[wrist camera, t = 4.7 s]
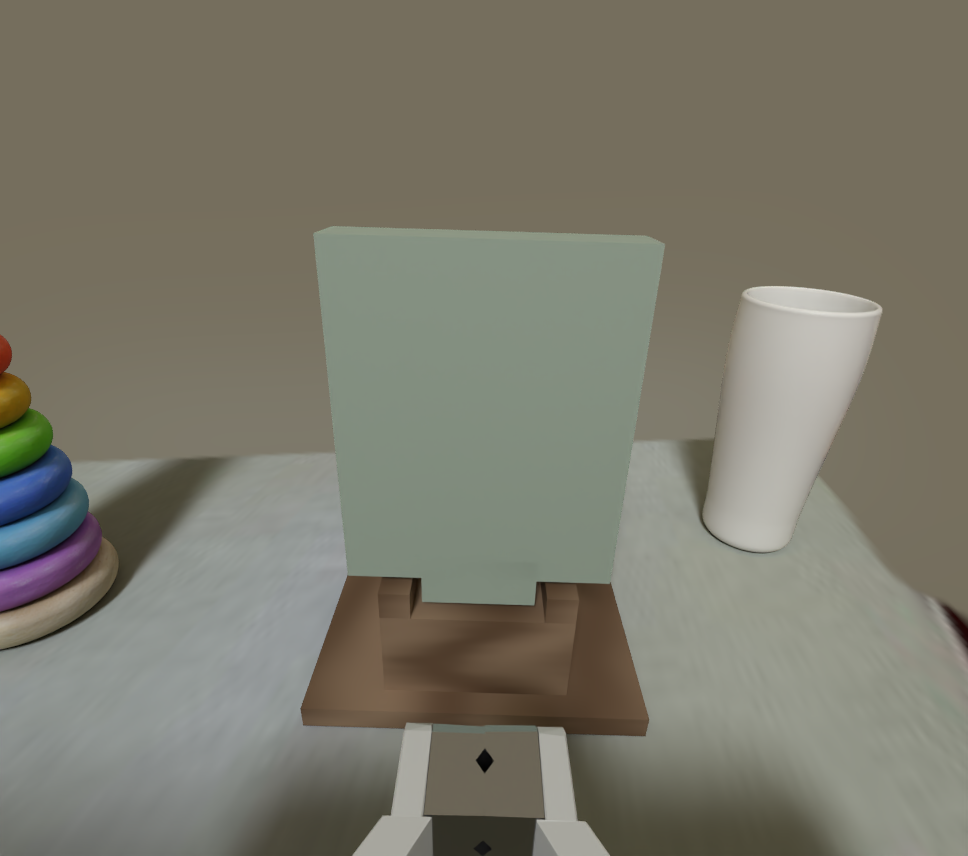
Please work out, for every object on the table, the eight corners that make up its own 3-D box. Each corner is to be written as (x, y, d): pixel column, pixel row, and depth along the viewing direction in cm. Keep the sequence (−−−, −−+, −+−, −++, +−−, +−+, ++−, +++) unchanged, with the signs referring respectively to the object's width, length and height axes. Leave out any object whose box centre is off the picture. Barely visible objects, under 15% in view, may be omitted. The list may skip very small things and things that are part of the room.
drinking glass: (678, 498, 39) (724, 282, 32) (777, 505, 38) (844, 288, 32) (704, 560, 33) (767, 310, 26) (822, 569, 32) (916, 317, 26)
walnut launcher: (303, 725, 23) (283, 610, 20) (389, 468, 41) (385, 392, 39) (645, 736, 22) (671, 622, 20) (575, 474, 41) (584, 398, 39)
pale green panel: (350, 599, 22) (313, 233, 16) (361, 565, 23) (332, 226, 17) (605, 607, 22) (665, 243, 16) (597, 573, 23) (647, 235, 17)
